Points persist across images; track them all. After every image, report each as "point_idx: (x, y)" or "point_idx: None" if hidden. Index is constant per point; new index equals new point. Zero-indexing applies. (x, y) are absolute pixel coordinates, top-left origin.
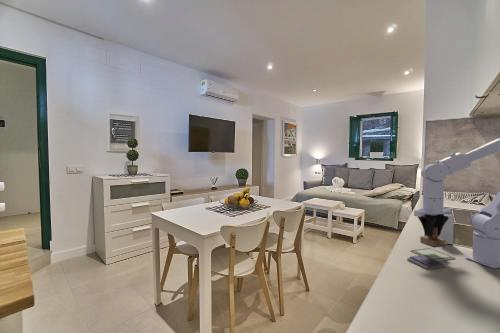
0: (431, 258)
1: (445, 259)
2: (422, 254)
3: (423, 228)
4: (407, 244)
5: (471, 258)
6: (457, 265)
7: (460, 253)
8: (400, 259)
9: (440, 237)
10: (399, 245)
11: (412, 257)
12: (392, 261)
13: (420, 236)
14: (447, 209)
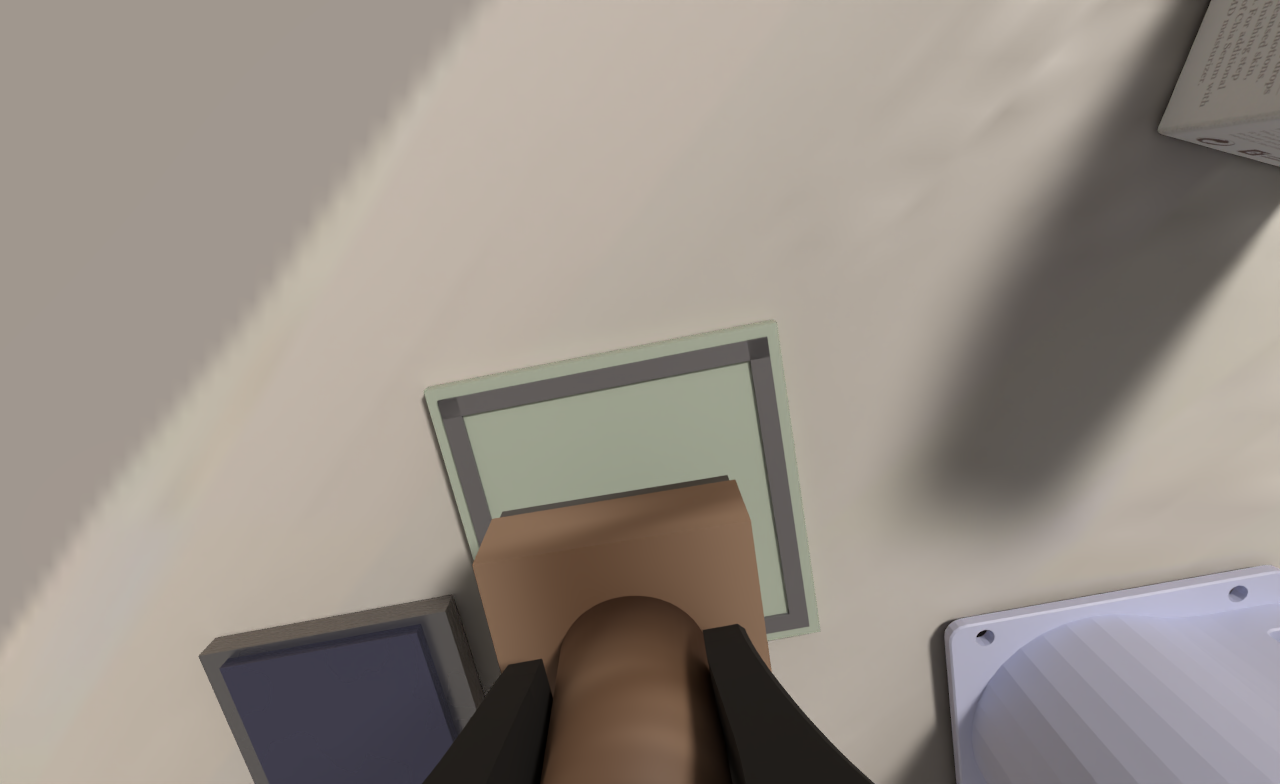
0: None
1: None
2: (480, 543)
3: (443, 758)
4: (571, 104)
5: (971, 674)
6: None
7: (1052, 480)
8: (142, 619)
9: (1264, 82)
10: (402, 147)
11: (238, 688)
12: (20, 662)
13: (474, 565)
14: None
